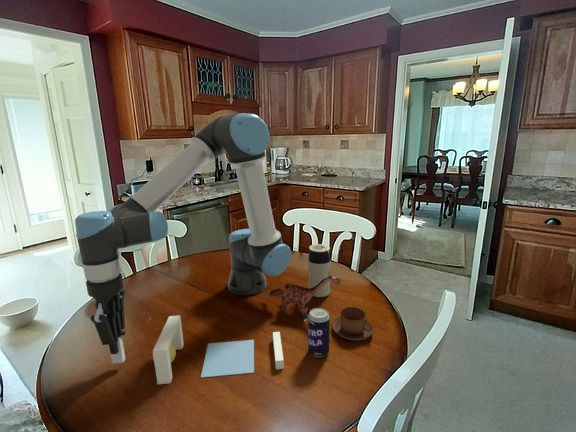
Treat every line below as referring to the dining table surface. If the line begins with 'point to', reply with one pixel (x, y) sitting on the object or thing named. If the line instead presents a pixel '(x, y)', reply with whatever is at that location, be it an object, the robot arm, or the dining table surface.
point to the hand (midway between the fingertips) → (118, 360)
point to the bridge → (167, 348)
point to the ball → (171, 352)
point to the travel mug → (319, 268)
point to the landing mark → (229, 358)
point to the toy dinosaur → (300, 294)
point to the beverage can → (318, 332)
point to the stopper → (278, 351)
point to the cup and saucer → (352, 324)
